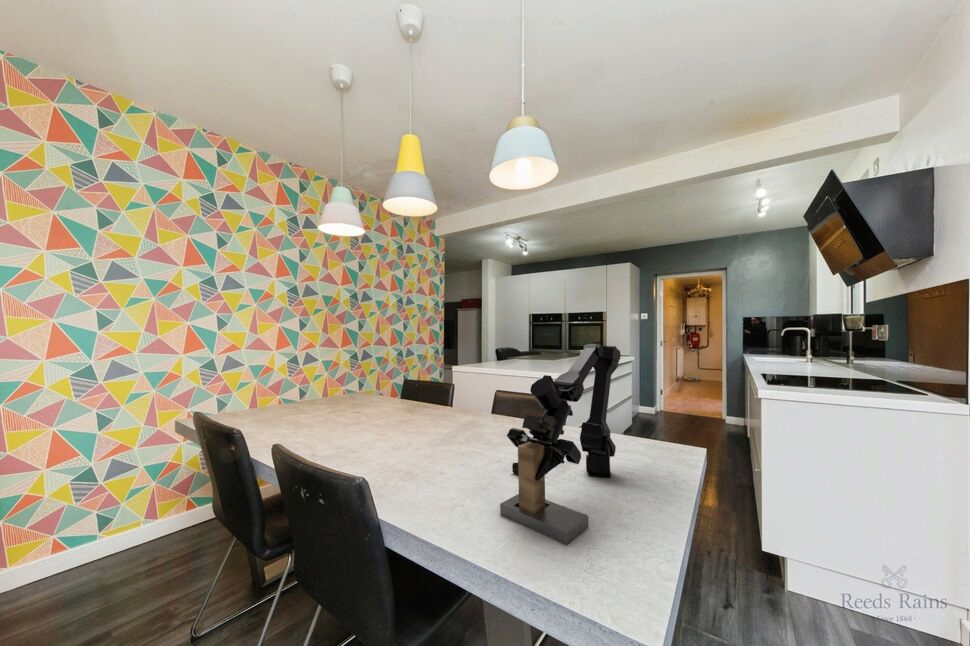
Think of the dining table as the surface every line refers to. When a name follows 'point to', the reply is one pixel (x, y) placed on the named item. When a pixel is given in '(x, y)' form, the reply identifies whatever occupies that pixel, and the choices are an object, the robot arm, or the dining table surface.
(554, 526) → the grey slotted base plate
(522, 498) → the walnut post
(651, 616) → the dining table surface
